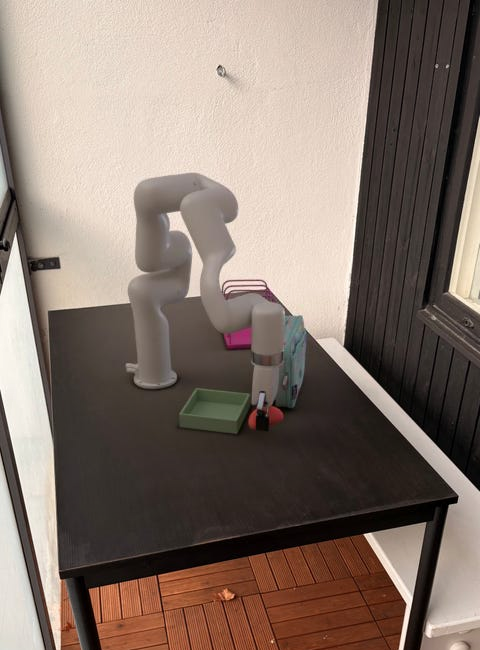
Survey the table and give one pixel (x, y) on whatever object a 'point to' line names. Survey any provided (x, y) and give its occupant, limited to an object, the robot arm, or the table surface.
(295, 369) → the lunch box
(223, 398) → the tote
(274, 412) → the red oval piece
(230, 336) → the file sorter
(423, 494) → the table surface
